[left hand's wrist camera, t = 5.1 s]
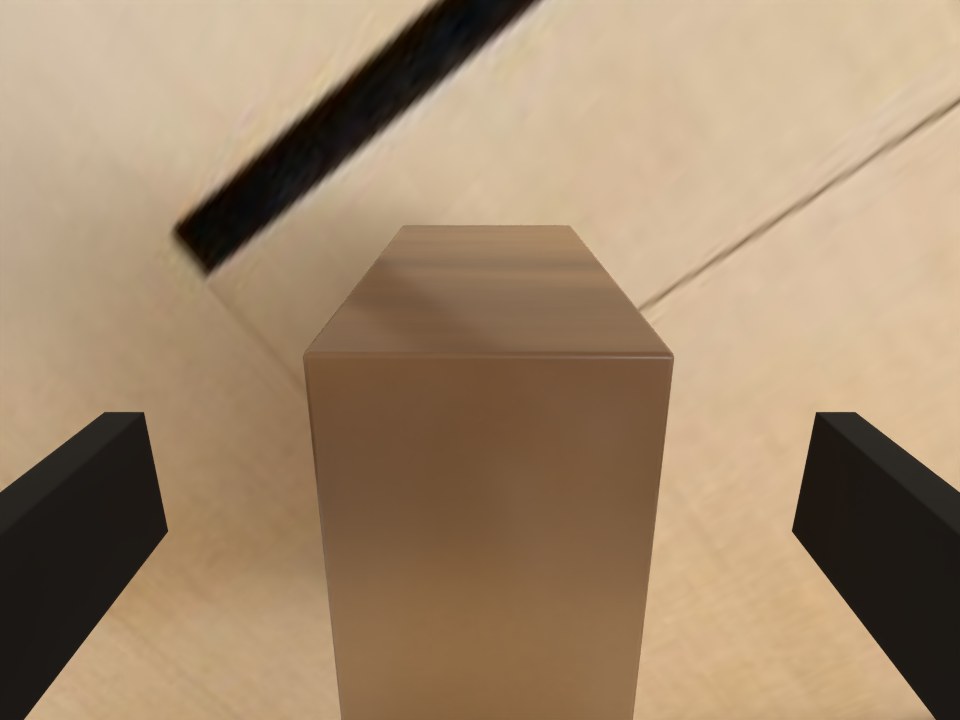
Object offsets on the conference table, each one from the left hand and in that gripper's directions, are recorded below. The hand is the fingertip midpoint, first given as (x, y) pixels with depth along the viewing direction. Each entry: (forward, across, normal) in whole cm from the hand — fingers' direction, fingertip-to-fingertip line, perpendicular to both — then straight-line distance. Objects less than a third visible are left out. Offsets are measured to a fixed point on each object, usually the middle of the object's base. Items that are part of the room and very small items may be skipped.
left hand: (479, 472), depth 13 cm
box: (+11, 0, -7) cm, 13 cm away
